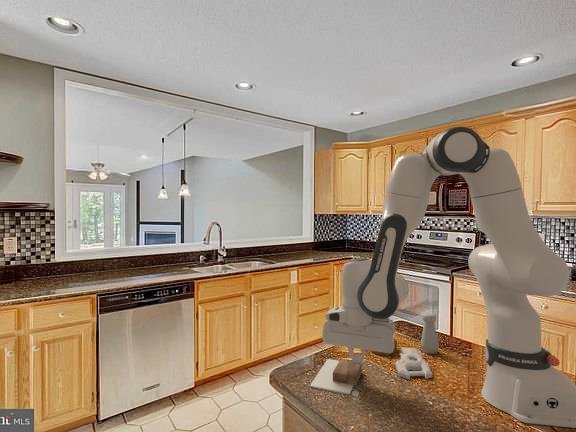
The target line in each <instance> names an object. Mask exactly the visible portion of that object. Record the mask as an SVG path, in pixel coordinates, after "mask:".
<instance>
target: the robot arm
mask: <svg viewBox="0 0 576 432" xmlns="http://www.w3.org/2000/svg"><path fill="white" fill-rule="evenodd" d="M390 171H391V172H390V174H389V177H388V181H387V184H386V189H385V193H384V198H383V205H382V212H381V220H380V226H379V232H378V235H377V239H376V244H375V248H374V251H373V255H372V260H371V259H370V258H366V257H361V258H355V259H350V260H348V261H346V262H345V263H344V264H343V266H342V272H341V292H342V300H341V305H340V306H335V307H331V308H329V310H327V312H326V313H325V322H324V323H323V325H322V326H323V327H322V333H321V334H322V336H321V337H322V341H323V344H326V345H331V346H332V345H333V346H339V347H345V348H347V352H348V354H349V355H350V357H351V362H352V363H357V364H362V365H363V364H364V357H365V356H366V354H367V352H368V351H370V350H371V351H377V352H384V353H392V352H393V351H394V339H395V337H394V334H395V333H396V323H395V322H394V320H392V319H390V317H392V316H393V315H394V314H395V312H396V311H397V310H398V307H400V306H401V305H402V304H403V303H404V301H405V300H406V299H407V297H408V294H409V285H408V282H407V281H406V279H405V278H404V277H403V276H402V275H401V274H399V273H398V269H399V266H400V265H399V264H400V260H401V256H402V252H403V248H404V246H405V244H406V242H407V241H408V239H409V237H410V236H411V235H412V234H413V233H414V231H416V230H417V229H418V227H420V226H421V224H422V221H423V219H424V218H425V214H426V212H427V209H428V204H429V200H430V194H431V188H432V187H433V184H434V182H435V181H436V179H437V178H439V177H440V178H441V177H447V176H453V175H457V174H459V175H460V176H462V177H463V178H464V180H465V181H466V184H467V186H468V191H469V196H470V197H469V198H470V200H471V205H472V209H473V213H474V217H475V218H474V219H475V222H476V223H475V224H476V226H477V227H478V229H479V230H480V231H481V232H482V233H483V234H484V235H485V236H486V237H487V239H489V241H490V244H483V245H480V246H477V247H475V248H474V249H472V251H471V252H470V253H469V256H468V258H467V259H468V262H467V263H468V268H469V270H470V272H471V273H472V274H473V276H474V277H475V279H476V280H477V282H478V285H479V288H480V291H481V294H482V297H483V301H484V305H485V309H486V319H487V320H486V323H487V324H486V325H487V338H486V341H485V347H484V348H485V350H484V351H485V352H484V353H485V354H484V355H485V361H486V363H487V364H486V371H485V372H486V373H485V378H484V383H483V386H482V388H481V396H482V398H483V399H484V401H486V402H487V403H488V404H490V405H491V406H493V407H494V408H496V409H498V410H500V411H502V412H505V413H506V414H509V415H510V416H512V417H513V418H515V419H517V420H518V421H519V422H523V424H524V423H525V424H532V425H545V426H552V427H562V428H563V427H564V428H573V429H576V383H574V382H573V381H572V380H571V379H570V378H569V377H567V376H566V375H564V374H563V372H561V371H560V370H558V369H557V368H556V367H558V366H560V364H561V362H560V360H559V359H558V357H557V356H555V355H554V354H552V353H551V352H550V351H549V350H546V348H544V347H543V346H542V320H541V317H540V315H539V313H538V311H537V310H536V309H535V308H534V307H533V306H532V304H531V302H530V300H529V299H528V296H535V297H537V296H538V297H553V296H557V295H559V294H560V293H562V292H563V291H564V290H565V289H566V287H567V286H568V283H569V281H570V269H569V266H568V264H567V262H566V261H565V260H564V259H563V257H561V256H560V255H558V254H557V253H555V252H554V251H553V250H552V249H551V248H550V247H549V246H548V245H547V243H545V242H544V240H543V238H542V237H541V236H540V234H539V233H538V231H537V229H536V227H535V226H534V224H533V222H532V220H531V217H530V214H529V211H528V206H527V204H526V203H527V202H526V199H525V195H524V191H523V188H522V187H523V186H522V182H521V180H520V176H519V173H518V170H517V167H516V165H515V162H514V160H513V158H512V156H511V154H510V153H509V152H508V151H507V150H506V149H503V148H497V147H493V148H492V147H490V146H489V145H488V144H487V143H486V142H485V141H484V140H483V139H482V137H481V136H480V135H479V133H477V132H476V131H475V130H474V129H472V128H470V127H467V126H453V127H449V128H447V129H445V130H443V131H442V132H440V133H438V134H437V135H436V136H434V137H433V138H432V140H431V141H430V142H429V143H428V144H427V145H426V146H425V147H424V148H423V150H422V151H421V152H420V153H419V154H416V153H407V154H403V155H401V156H399V157H398V158H396V160H395V162H394V163H393V166H392V168H391V170H390ZM527 295H528V296H527ZM354 349H359V350H360V353H361V355H359V354H355V351H354ZM371 351H370V352H371ZM392 354H393V353H392Z"/></svg>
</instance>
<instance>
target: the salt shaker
mask: <svg viewBox="0 0 576 432" xmlns="http://www.w3.org/2000/svg"><path fill="white" fill-rule="evenodd" d="M422 320H423V321H424V322H423V328H422V332H421V340H420V347H421V349H422V351H423V352H424V353H425V354H427V355H434V354H437V352H438V351H439V347H440V345H439V340H438V339H439V338H438V334H437V330H436V325H435V323H436V321H437V316H436V314H434V313H431V312H424V313H423V314H422Z"/></svg>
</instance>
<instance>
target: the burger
mask: <svg viewBox="0 0 576 432" xmlns="http://www.w3.org/2000/svg"><path fill="white" fill-rule="evenodd" d="M397 341H398V340H397V339H396V338H394V351H393V352H392V353H384V352H377V351H371V350H369V351H370V352H371V353H373V354H376V355H379V356H390V355H392V354H394V353H395V352H396V351H397V349H398V348H397V347H398V342H397Z"/></svg>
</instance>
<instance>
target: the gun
mask: <svg viewBox="0 0 576 432" xmlns="http://www.w3.org/2000/svg"><path fill="white" fill-rule="evenodd" d="M399 356H400V359H399V360H398V359H397V360H396V361H395V363H394V364H395V365H394V366H395V368H396V369H395V370H396V371H397V373H398V376H399V377H402V378H404V379H407V380H409V381H410V380H411V377H424V379H425V380H426V379H427V380H428V379H430V378H433V371H432V370H431V368H430V367H429V362H427V361H426V360H425V359H424V358H423V356H422V352H421V351H420V350H419V349H418V348H416V347H404V346H403V347H400V352H399Z"/></svg>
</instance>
